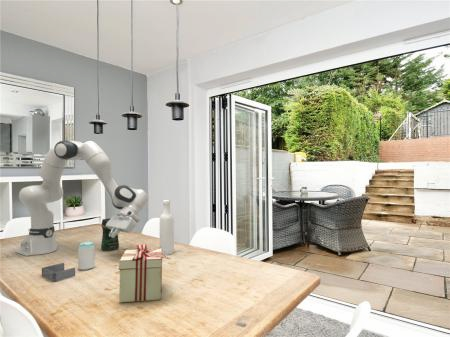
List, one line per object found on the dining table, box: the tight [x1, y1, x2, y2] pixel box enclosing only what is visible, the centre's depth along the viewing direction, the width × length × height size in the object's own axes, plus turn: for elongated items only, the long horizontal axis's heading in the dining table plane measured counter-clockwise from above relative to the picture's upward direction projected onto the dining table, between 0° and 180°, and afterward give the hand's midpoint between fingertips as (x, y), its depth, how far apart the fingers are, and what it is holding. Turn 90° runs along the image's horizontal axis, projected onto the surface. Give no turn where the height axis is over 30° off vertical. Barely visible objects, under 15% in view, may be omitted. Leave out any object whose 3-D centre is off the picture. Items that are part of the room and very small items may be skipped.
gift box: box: [118, 243, 171, 303], centre depth 108 cm, size 17×18×17 cm
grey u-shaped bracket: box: [41, 262, 76, 283], centre depth 125 cm, size 9×12×4 cm
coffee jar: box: [100, 217, 120, 252], centre depth 167 cm, size 10×8×19 cm
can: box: [77, 241, 96, 271], centre depth 135 cm, size 7×7×12 cm
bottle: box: [159, 199, 175, 256], centre depth 159 cm, size 8×8×30 cm
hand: (111, 236), depth 145 cm, fingers closed
